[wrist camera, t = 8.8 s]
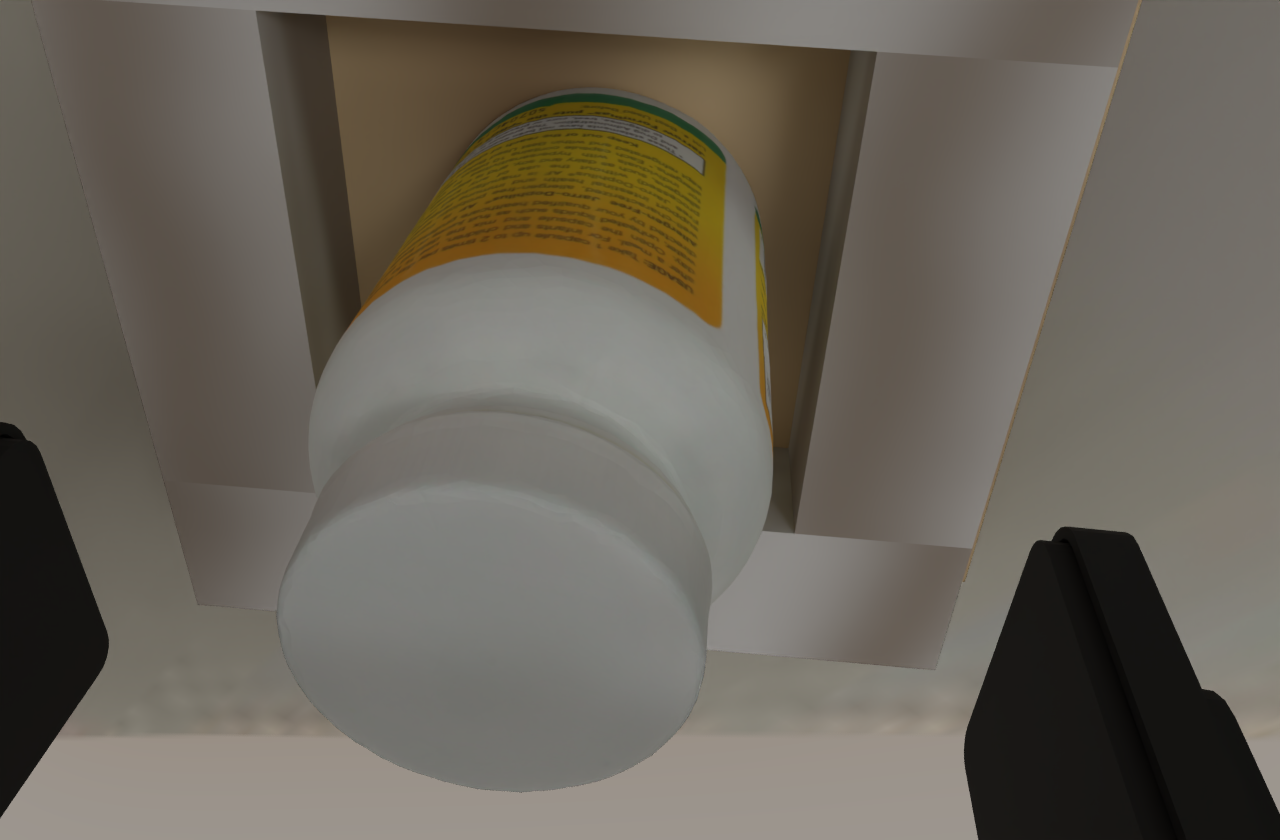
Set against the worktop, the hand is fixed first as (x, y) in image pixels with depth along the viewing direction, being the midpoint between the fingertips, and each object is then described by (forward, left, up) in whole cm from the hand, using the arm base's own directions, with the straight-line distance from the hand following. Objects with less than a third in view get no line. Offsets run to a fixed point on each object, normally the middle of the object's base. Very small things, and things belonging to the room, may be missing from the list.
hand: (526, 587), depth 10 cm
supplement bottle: (0, 0, -9) cm, 9 cm away
